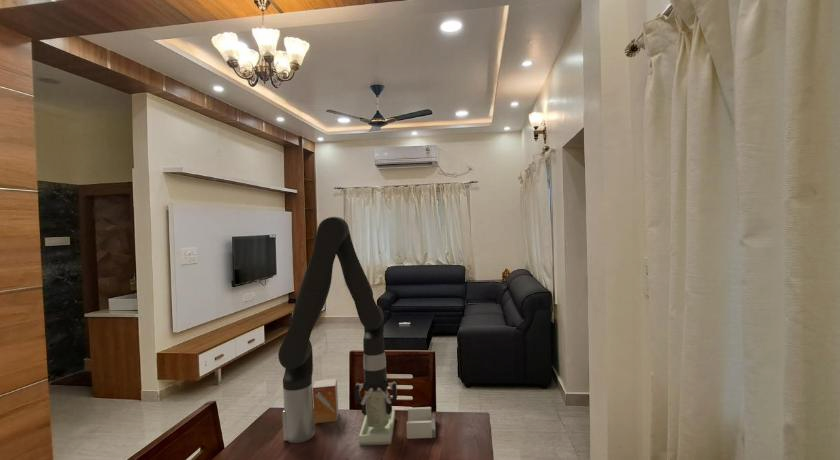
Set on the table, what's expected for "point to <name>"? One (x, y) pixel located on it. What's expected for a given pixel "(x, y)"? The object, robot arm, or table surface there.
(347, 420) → the table surface
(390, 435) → the tray
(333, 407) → the small box
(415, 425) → the off-white card holder
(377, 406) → the skincare box
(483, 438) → the table surface
